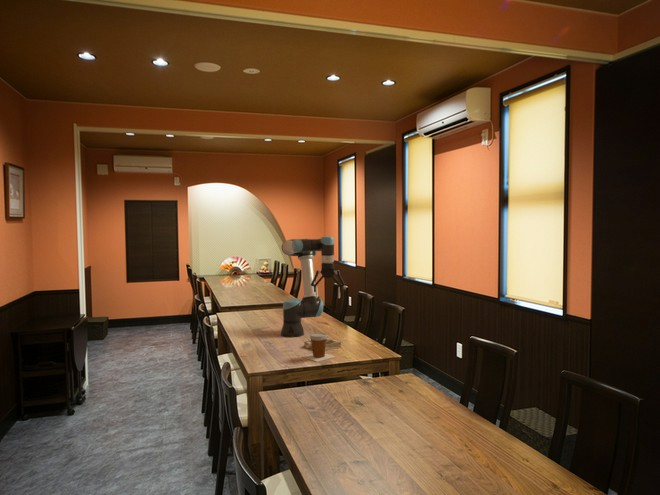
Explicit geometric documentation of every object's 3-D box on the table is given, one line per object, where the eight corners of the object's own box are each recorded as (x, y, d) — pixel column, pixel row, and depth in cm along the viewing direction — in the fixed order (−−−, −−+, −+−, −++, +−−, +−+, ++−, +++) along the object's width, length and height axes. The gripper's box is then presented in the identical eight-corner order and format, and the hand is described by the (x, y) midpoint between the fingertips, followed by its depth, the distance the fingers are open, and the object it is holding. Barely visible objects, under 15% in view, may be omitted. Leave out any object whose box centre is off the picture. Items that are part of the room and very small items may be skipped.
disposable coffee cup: (325, 359, 251) (325, 337, 251) (308, 358, 253) (308, 336, 253) (329, 354, 261) (328, 332, 260) (312, 353, 263) (312, 332, 262)
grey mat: (302, 356, 258) (302, 356, 258) (320, 352, 266) (320, 351, 266) (317, 362, 248) (317, 361, 248) (335, 357, 256) (335, 356, 256)
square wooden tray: (304, 346, 279) (304, 341, 279) (324, 342, 289) (324, 337, 289) (320, 351, 267) (320, 346, 267) (340, 346, 277) (340, 341, 277)
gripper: (305, 263, 275) (306, 298, 277) (348, 263, 273) (348, 299, 274) (307, 261, 283) (308, 296, 284) (349, 261, 280) (349, 296, 282)
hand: (327, 297), depth 279 cm, fingers open, 13 cm apart
